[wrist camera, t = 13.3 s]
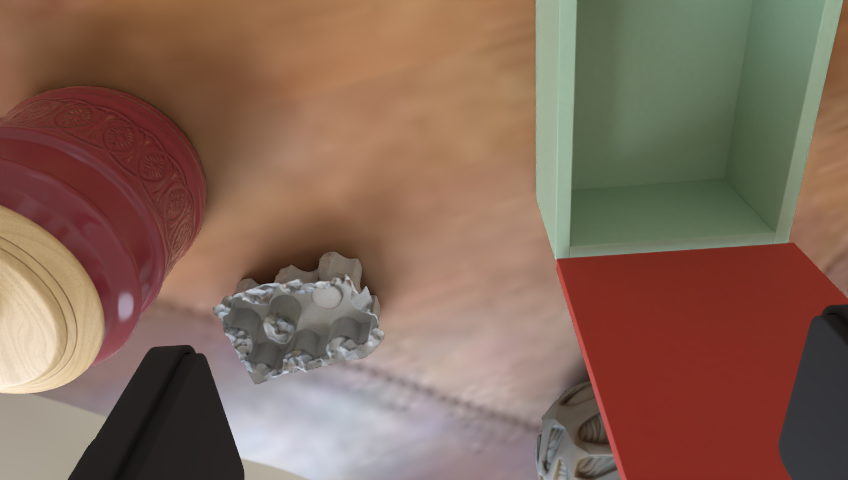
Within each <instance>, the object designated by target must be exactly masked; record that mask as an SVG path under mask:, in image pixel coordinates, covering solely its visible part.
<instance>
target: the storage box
mask: <svg viewBox="0 0 848 480" xmlns="http://www.w3.org/2000/svg"><path fill="white" fill-rule="evenodd" d="M842 4H843V0H536V199H537V202H538V206H539V209H540V212H541V216H542V219H543V222H544V225H545V228H546V231H547V235H548V238H549V241H550V244H551V247H552V251H553V254H554V257H555V259H556V260H557V259H558V258H573V257H588V256H602V255H617V254H632V253H647V252H662V251H676V250H691V249H706V248H721V247H736V246H751V245H765V244H780V243H788V240H789V235H790V231H791V227H792V222H793V218H794V214H795V209H796V205H797V201H798V196H799V192H800V187H801V183H802V179H803V174H804V170H805V166H806V161H807V157H808V153H809V148H810V144H811V139H812V135H813V131H814V126H815V122H816V118H817V113H818V109H819V104H820V100H821V96H822V91H823V87H824V83H825V78H826V74H827V70H828V65H829V61H830V56H831V52H832V48H833V43H834V39H835V35H836V30H837V26H838V22H839V17H840V13H841V8H842Z"/></svg>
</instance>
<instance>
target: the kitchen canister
mask: <svg viewBox="0 0 848 480" xmlns="http://www.w3.org/2000/svg"><path fill="white" fill-rule="evenodd" d="M206 203H207V185H206V179H205V175H204V171H203V168H202V165H201V163H200V160H199V158H198V156H197V154H196V152H195V150H194V148H193V147H192V145H191V144H190V142H189V141H188V139H187V138H186V137H185V135H184V134H183V133H182V132H181V131H180V129H179V128H178V127H177V126H176V125H175V124H174V123H173V122H172V121H171V120H170V119H168V118H167V117H166V116H165V115H164V114H162V113H161V112H160V111H158V110H157V109H156V108H154V107H153V106H151V105H150V104H148V103H146V102H144V101H143V100H141V99H138V98H136V97H134V96H132V95H130V94H127V93H124V92H121V91H118V90H114V89H111V88H105V87H99V86H73V87H66V88H58V89H53V90H49V91H46V92H42V93H40V94H37V95H35V96H33V97H31V98H29V99H27V100H25V101H23V102H22V103H20V104H18V105H17V106H15V107H14V108H13V109H11V110H10V111H9V112H8V113H7V114H6V115H5V116H4V117H2V118H0V392H2V393H35V392H41V391H46V390H50V389H54V388H57V387H59V386H62V385H64V384H66V383H68V382H70V381H72V380H74V379H75V378H77V377H78V376H79V375H81V374H82V373H83V372H84V371H85V370H86V369H87V368H90V367H93V366H95V365H98V364H100V363H102V362H104V361H105V360H107V359H108V358H110V357H112V356H113V355H114V354H116V353H117V352H118V351H119V350H120V349H121V348H122V347H123V346H124V345H125V344H126V343H127V342H128V340H129V339H130V337H131V336H132V334H133V332H134V331H135V329H136V326H137V324H138V321H139V318H140V316H141V315H142V314H143V313H145V312H146V311H147V310H148V308H149V307H150V306H151V305H152V303H153V302H154V300H155V299H156V297H157V295H158V294H159V292H160V289H161V287H162V284H163V282H164V280H165V279H166V277H167V276H168V274H169V273H170V271H171V270H172V268H173V267H174V265H175V264H176V262H177V261H179V260H180V259H181V258H182V257H183V256H184V255H185V254H186V252H187V251H188V250H189V248H190V247H191V245H192V244H193V242H194V241H195V239H196V237H197V235H198V233H199V231H200V229H201V226H202V223H203V218H204V213H205V209H206Z"/></svg>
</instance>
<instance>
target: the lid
mask: <svg viewBox="0 0 848 480" xmlns="http://www.w3.org/2000/svg"><path fill="white" fill-rule="evenodd" d="M557 273H558V276H559V279H560V283H561V286H562V289H563V293H564V296H565V299H566V302H567V306H568V309H569V312H570V315H571V319H572V322H573V325H574V328H575V332H576V335H577V338H578V342H579V345H580V348H581V351H582V355H583V358H584V361H585V364H586V368H587V371H588V374H589V377H590V381H591V384H592V387H593V391H594V394H595V397H596V400H597V404H598V407H599V410H600V413H601V417H602V420H603V423H604V426H605V430H606V433H607V436H608V440H609V443H610V446H611V449H612V453H613V456H614V459H615V462H616V466H617V469H618V472H619V476H620V479H621V480H792V479H791V477H790V476H789V474H788V472H787V471H786V469H785V467H784V465H783V463H782V461H781V458H780V454H779V447H778V443H779V438H780V434H781V430H782V427H783V423H784V419H785V415H786V412H787V408H788V404H789V401H790V397H791V393H792V389H793V386H794V382H795V378H796V375H797V371H798V367H799V363H800V360H801V356H802V352H803V349H804V345H805V341H806V337H807V334H808V330H809V326H810V323H811V321H812V319H813V318H814V317H815V316H820V315H821V314H822V311H823V310H824V309H825V308H826V307H827V306H830V305H841V304H848V299H847V298H846V296H845V295H844V294H843V293H842V292H841V291H840V290H839V289H838V288H837V287H836V286H835V285H834V284H833V283H832V282H831V281H830V280H829V279H828V278H827V277H826V276H825V275H824V274H823V273H822V272H821V271H820V270H819V269H818V268H817V267H816V265H815V264H814V263H813V262H812V261H811V260H810V259H809V258H808V257H807V256H806V255H805V254H804V253H803V252H802V251H801V250H800V249H799V248H798V247H797V246H796V245H795V244H794V243H780V244H765V245H751V246H736V247H721V248H706V249H691V250H676V251H662V252H647V253H632V254H617V255H602V256H588V257H573V258H558V259H557Z"/></svg>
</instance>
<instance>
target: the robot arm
mask: <svg viewBox="0 0 848 480" xmlns="http://www.w3.org/2000/svg"><path fill="white" fill-rule="evenodd" d="M778 447H779V454H780V458H781V461H782V463H783V465H784V467H785V469H786V471H787V472H788V474H789V476H790V477H791V479H792V480H848V304H841V305H830V306H827V307H826V308H825V309H824V310H823V311H822V314H821V315H820V316H815V317H814V318H813V319H812V321H811V323H810V326H809V330H808V334H807V337H806V341H805V345H804V349H803V352H802V356H801V360H800V363H799V367H798V371H797V375H796V378H795V382H794V386H793V389H792V393H791V397H790V401H789V404H788V408H787V412H786V415H785V419H784V423H783V427H782V430H781V434H780V438H779V443H778ZM68 480H244V469H243V465H242V462H241V459H240V456H239V453H238V450H237V447H236V444H235V441H234V438H233V435H232V432H231V429H230V426H229V424H228V421H227V418H226V415H225V412H224V409H223V406H222V403H221V400H220V397H219V394H218V391H217V388H216V385H215V382H214V379H213V376H212V373H211V370H210V367H209V364H208V362H207V359H206V357H205V356H204V355H203V354H201V353H197V354H196V352H195V350H194V349H193V348H192V347H191V346H190V345H178V346H162V347H153V348H151V349H150V350H149V351H148V352H147V354H146V355H145V357H144V359H143V360H142V362H141V363H140V365H139V367H138V368H137V370H136V372H135V373H134V375H133V377H132V378H131V380H130V382H129V383H128V385H127V387H126V388H125V390H124V392H123V393H122V395H121V396H120V398H119V400H118V401H117V403H116V405H115V406H114V408H113V410H112V411H111V413H110V415H109V416H108V418H107V420H106V421H105V423H104V425H103V426H102V428H101V429H100V431H99V433H98V434H97V436H96V438H95V439H94V440H93V441H92V442H91V444H90V445H89V446H88V447H87V449H86V450H85V452H84V454H83V455H82V457H81V459H80V460H79V462H78V463H77V465H76V467H75V469H74V470H73V472H72V474H71V475H70V477H69V478H68Z"/></svg>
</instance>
